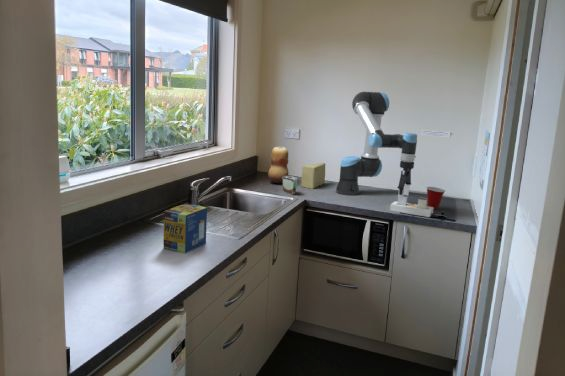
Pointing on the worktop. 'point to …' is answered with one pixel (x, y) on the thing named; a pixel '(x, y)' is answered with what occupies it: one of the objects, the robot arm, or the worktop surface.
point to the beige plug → (422, 202)
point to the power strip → (413, 209)
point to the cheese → (313, 175)
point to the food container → (289, 184)
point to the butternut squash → (278, 164)
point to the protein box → (185, 227)
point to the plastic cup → (434, 196)
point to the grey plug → (403, 200)
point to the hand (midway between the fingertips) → (403, 197)
